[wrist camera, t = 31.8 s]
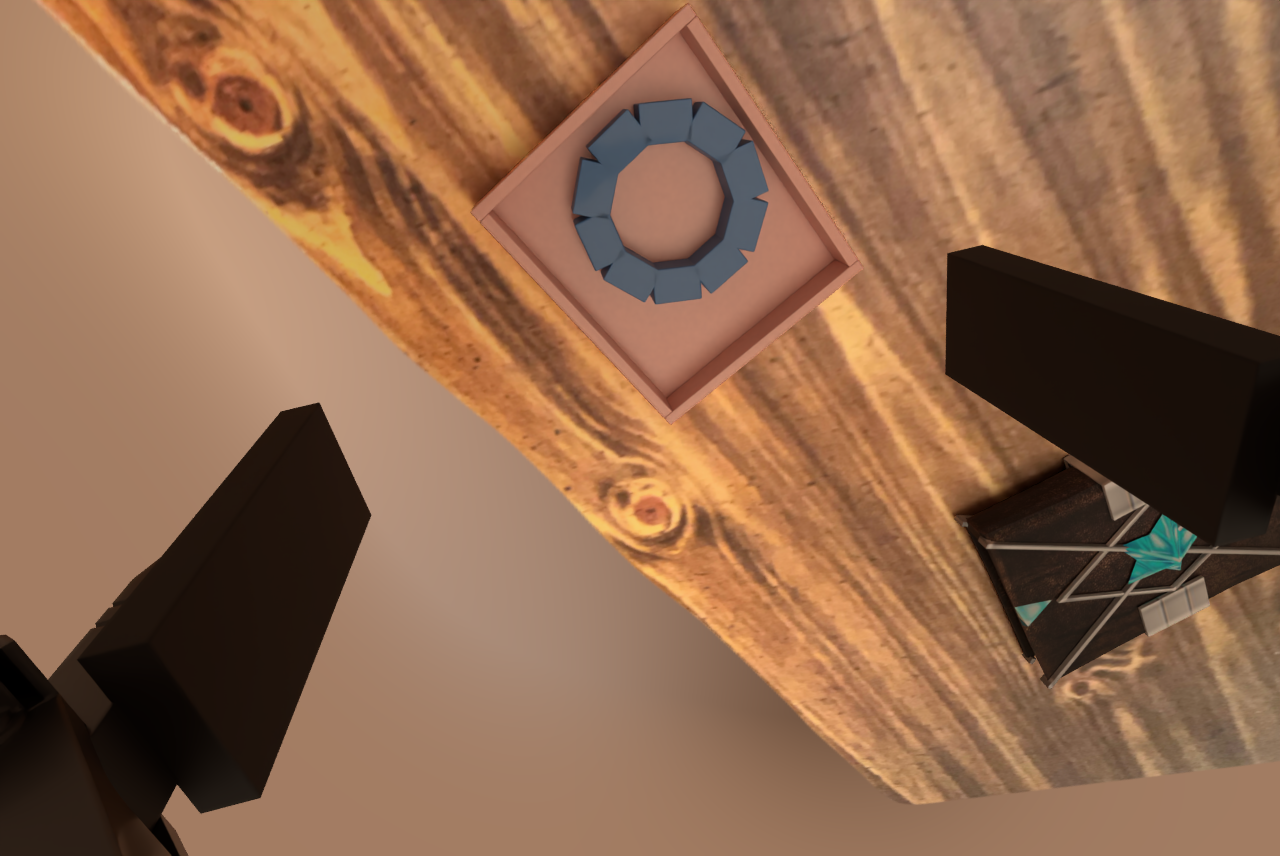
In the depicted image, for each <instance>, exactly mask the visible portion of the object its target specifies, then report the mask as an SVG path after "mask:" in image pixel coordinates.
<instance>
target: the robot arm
mask: <svg viewBox="0 0 1280 856" xmlns="http://www.w3.org/2000/svg"><path fill="white" fill-rule="evenodd" d="M945 374H946V375H948V376H949V377H951V378H952V379H954V380H955V381H957V382H958V383H960V384H961V385H963V386H965V387H966V388H968V389H969V390H971V391H972V392H974V393H975V394H977V395H979V396H980V397H982V398H983V399H985V400H986V401H988V402H989V403H991V404H992V405H994V406H996V407H997V408H999V409H1000V410H1002V411H1003V412H1005V413H1006V414H1008V415H1010V416H1011V417H1013V418H1014V419H1016V420H1017V421H1019V422H1020V423H1022V424H1023V425H1025V426H1027V427H1028V428H1030V429H1031V430H1033V431H1034V432H1036V433H1037V434H1039V435H1041V436H1042V437H1044V438H1045V439H1047V440H1048V441H1050V442H1051V443H1053V444H1054V445H1056V446H1058V447H1059V448H1061V449H1062V450H1064V451H1065V452H1067V453H1068V454H1070V455H1071V456H1073V457H1075V458H1076V459H1078V460H1079V461H1081V462H1082V463H1084V464H1085V465H1087V466H1089V467H1090V468H1092V469H1093V470H1095V471H1096V472H1098V473H1099V474H1101V475H1102V476H1104V477H1106V478H1107V479H1109V480H1110V481H1112V482H1113V483H1115V484H1116V485H1118V486H1120V487H1121V488H1123V489H1124V490H1126V491H1127V492H1129V493H1130V494H1132V495H1133V496H1135V497H1137V498H1138V499H1140V500H1141V501H1143V502H1144V503H1146V504H1147V505H1149V506H1151V507H1152V508H1154V509H1155V510H1157V511H1158V512H1160V513H1161V514H1163V515H1164V516H1166V517H1168V518H1169V519H1171V520H1172V521H1174V522H1175V523H1177V524H1178V525H1180V526H1182V527H1183V528H1185V529H1186V530H1188V531H1189V532H1191V533H1192V534H1194V535H1195V536H1197V537H1199V538H1200V539H1202V540H1203V541H1205V542H1206V543H1208V544H1209V545H1211V546H1213V547H1218V546H1222V545H1225V544H1229V543H1233V542H1237V541H1241V540H1245V539H1248V538H1252V537H1256V536H1260V535H1264V534H1266V532H1267V529H1268V525H1269V522H1270V518H1271V515H1272V512H1273V508H1274V505H1275V501H1276V498H1277V495H1279V496H1280V336H1278V335H1275V334H1271V333H1268V332H1265V331H1262V330H1258V329H1255V328H1252V327H1249V326H1245V325H1242V324H1239V323H1236V322H1232V321H1229V320H1226V319H1222V318H1219V317H1216V316H1213V315H1209V314H1206V313H1203V312H1200V311H1196V310H1193V309H1190V308H1187V307H1183V306H1180V305H1177V304H1173V303H1170V302H1167V301H1164V300H1160V299H1157V298H1154V297H1151V296H1147V295H1144V294H1141V293H1138V292H1134V291H1131V290H1128V289H1124V288H1121V287H1118V286H1115V285H1111V284H1108V283H1105V282H1102V281H1098V280H1095V279H1092V278H1088V277H1085V276H1082V275H1079V274H1075V273H1072V272H1069V271H1066V270H1062V269H1059V268H1056V267H1053V266H1049V265H1046V264H1043V263H1039V262H1036V261H1033V260H1030V259H1026V258H1023V257H1020V256H1017V255H1013V254H1010V253H1007V252H1004V251H1000V250H997V249H994V248H990V247H987V246H984V245H981V246H976V247H972V248H968V249H964V250H960V251H955V252H951V253H947V312H946V372H945ZM370 517H371V513H370V511H369V509H368V507H367V505H366V503H365V500H364V498H363V496H362V494H361V492H360V490H359V487H358V485H357V483H356V481H355V479H354V477H353V475H352V472H351V470H350V468H349V466H348V464H347V461H346V459H345V457H344V455H343V453H342V451H341V448H340V447H339V444H338V442H337V440H336V438H335V435H334V433H333V431H332V429H331V427H330V425H329V422H328V420H327V418H326V416H325V414H324V412H323V409H322V407H321V405H320V403H315V404H311V405H306V406H302V407H298V408H294V409H290V410H285V411H282V412H280V413H279V415H278V416H277V417H276V418H275V419H274V421H273V422H272V423H271V424H270V425H269V427H268V428H267V429H266V430H265V432H264V433H263V434H262V435H261V437H260V438H259V439H258V440H257V441H256V442H255V444H254V445H253V446H252V447H251V449H250V450H249V451H248V452H247V453H246V455H245V456H244V457H243V458H242V459H241V461H240V462H239V463H238V464H237V466H236V467H235V468H234V469H233V471H232V472H231V473H230V474H229V475H228V477H227V478H226V479H225V480H224V481H223V483H222V484H221V485H220V486H219V487H218V489H217V490H216V491H215V492H214V493H213V495H212V496H211V497H210V498H209V500H208V501H207V502H206V503H205V504H204V506H203V507H202V508H201V509H200V511H199V512H198V513H197V514H196V515H195V517H194V518H193V519H192V520H191V522H190V523H189V524H188V525H187V526H186V527H185V529H184V530H183V531H182V533H181V534H180V535H179V536H178V537H177V538H176V540H175V541H174V542H173V543H172V545H171V546H170V547H169V548H168V549H167V551H166V552H165V553H164V554H163V555H162V557H161V558H159V559H158V560H157V561H156V562H154V563H153V564H152V565H150V566H149V567H148V568H147V569H145V570H144V571H143V572H141V573H140V574H139V575H138V576H136V577H135V578H134V579H133V580H132V581H131V582H130V583H129V584H128V586H127V587H126V588H125V589H124V590H123V592H122V593H121V594H120V595H119V596H118V597H117V599H116V600H115V601H114V602H113V607H111V608H108V609H107V611H106V612H105V613H104V614H103V615H102V616H101V618H100V619H99V620H98V621H97V622H96V623H95V624H96V628H93V629H90V631H89V632H88V633H87V634H86V635H85V637H84V638H83V639H82V640H81V641H80V642H79V644H78V645H77V646H76V647H75V648H74V650H73V651H72V652H71V653H70V654H69V656H68V657H67V658H66V659H65V660H64V661H63V663H62V664H61V665H60V666H59V667H58V668H57V670H56V671H55V672H54V673H53V674H52V676H51V677H50V678H49V679H48V680H47V678H46V677H45V676H44V675H43V674H42V673H41V671H40V670H39V669H38V668H37V667H36V666H35V664H34V663H33V662H32V661H31V660H30V659H29V657H28V656H27V655H26V654H25V652H24V651H23V650H22V649H21V648H20V647H19V645H18V644H17V643H16V642H15V641H14V640H13V639H11V638H10V637H8V636H7V635H0V856H188V854H187V852H186V850H185V848H184V846H183V844H182V842H181V840H180V838H179V836H178V834H177V832H176V830H175V829H174V828H173V827H172V826H171V824H170V823H169V822H168V821H167V820H166V819H165V817H164V816H163V815H162V812H163V810H164V808H165V806H166V804H167V802H168V800H169V798H170V797H171V795H172V792H173V791H174V789H175V787H176V785H178V786H179V787H180V788H181V790H182V791H183V792H184V793H185V795H186V796H187V797H188V798H189V800H190V801H191V802H192V803H193V804H194V806H195V807H196V808H197V810H198V811H199V812H200V813H204V812H209V811H212V810H216V809H220V808H223V807H227V806H231V805H235V804H239V803H243V802H246V801H250V800H254V799H258V798H260V797H261V795H262V792H263V790H264V787H265V785H266V782H267V780H268V777H269V775H270V772H271V769H272V767H273V764H274V762H275V759H276V757H277V754H278V752H279V749H280V747H281V744H282V741H283V739H284V736H285V734H286V731H287V729H288V726H289V723H290V721H291V719H292V716H293V713H294V711H295V708H296V706H297V703H298V701H299V698H300V696H301V693H302V691H303V688H304V685H305V683H306V680H307V678H308V675H309V673H310V670H311V667H312V665H313V662H314V660H315V657H316V655H317V652H318V650H319V647H320V645H321V642H322V640H323V637H324V634H325V632H326V629H327V627H328V624H329V622H330V619H331V616H332V614H333V611H334V609H335V606H336V603H337V601H338V599H339V596H340V594H341V591H342V588H343V586H344V584H345V581H346V578H347V576H348V573H349V570H350V568H351V566H352V563H353V561H354V558H355V555H356V553H357V550H358V548H359V545H360V543H361V540H362V538H363V535H364V533H365V530H366V527H367V525H368V522H369V520H370Z"/></svg>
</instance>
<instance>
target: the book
mask: <svg viewBox="0 0 1280 856" xmlns="http://www.w3.org/2000/svg"><path fill="white" fill-rule="evenodd" d="M1063 459H1064V462H1065V466H1066V470H1064V471H1062V472H1060V473H1058V474H1056V475H1054V476H1052V477H1051V478H1049V479H1047V480H1045V481H1043V482H1041V483H1039V484H1037V485H1035V486H1033V487H1031V488H1029V489H1027V490H1025V491H1023V492H1020V493H1018V494H1016V495H1014V496H1012V497H1010V498H1008V499H1006V500H1004V501H1002V502H1000V503H998V504H996V505H994V506H992V507H990V508H988V509H986V510H984V511H982V512H980V513H977V514H975V515H956V517H955V520H956V521H957V522H958V523H959V524H960V525H961V526H962V527H966V528H967V530H968V532H969V534H970V536H971V538H972V540H973V542H974V544H975V546H976V548H977V550H978V552H979V554H980V557H981V559H982V561H983V563H984V565H985V567H986V569H987V571H988V573H989V576H990V578H991V580H992V582H993V585H994V587H995V589H996V591H997V593H998V596H999V598H1000V600H1001V602H1002V605H1003V607H1004V609H1005V611H1006V613H1007V616H1008V618H1009V620H1010V622H1011V625H1012V627H1013V629H1014V631H1015V634H1016V636H1017V638H1018V641H1019V643H1020V645H1021V648H1022V650H1023V652H1024V653H1023V654H1022V656H1023V657H1024V658H1025V659H1026V660H1027V661H1028V662H1029V663H1031V664H1033V663H1034V662H1035V660H1036V658H1035V657H1034V656H1035V655H1036V657H1037V659H1038V662H1039V664H1040V666H1041V668H1042V670H1043V672H1044V675H1043V676H1042V677H1041V678H1040V680H1041V681H1042V682H1043V683H1044V684H1045V685H1046V686H1047V688H1050V689H1052V687H1053V686H1054V685H1055V684H1056V683H1057V681H1058V680H1059V679H1060V678H1061V677H1063V676H1065V675H1067V674H1068V673H1070V672H1072V671H1074V670H1076V669H1078V668H1079V667H1081V666H1083V665H1085V664H1087V663H1089V662H1090V661H1092V660H1094V659H1096V658H1098V657H1100V656H1101V655H1103V654H1105V653H1107V652H1109V651H1111V650H1113V649H1114V648H1116V647H1118V646H1120V645H1122V644H1124V643H1126V642H1128V641H1129V640H1131V639H1133V638H1135V637H1137V636H1139V635H1141V634H1143V633H1145V634H1146V635H1147V636H1148V637H1150V636H1151V635H1153V634H1155V633H1157V632H1159V631H1161V630H1163V629H1165V628H1167V627H1169V626H1171V625H1173V624H1175V623H1177V622H1179V621H1181V620H1183V619H1185V618H1187V617H1189V616H1191V615H1193V614H1195V613H1197V612H1199V611H1201V610H1203V609H1205V608H1207V607H1209V606H1210V603H1209V598H1211V597H1213V596H1215V595H1217V594H1219V593H1221V592H1223V591H1225V590H1226V589H1228V588H1230V587H1232V586H1234V585H1236V584H1238V583H1241V582H1243V581H1245V580H1247V579H1249V578H1252V577H1254V576H1256V575H1258V574H1261V573H1263V572H1265V571H1267V570H1270V569H1272V568H1274V567H1276V566H1279V565H1280V496H1279V495H1277V498H1276V501H1275V505H1274V508H1273V512H1272V515H1271V518H1270V522H1269V525H1268V529H1267V532H1266V534H1264V535H1260V536H1256V537H1252V538H1248V539H1245V540H1241V541H1237V542H1233V543H1229V544H1225V545H1222V546H1218V547H1213V546H1211V545H1209V544H1208V543H1206V542H1205V541H1203V540H1202V539H1200V538H1199V537H1197V536H1195V535H1194V534H1192V533H1191V532H1189V531H1188V530H1186V529H1185V528H1183V527H1182V526H1180V525H1178V524H1177V523H1175V522H1174V521H1172V520H1171V519H1169V518H1168V517H1166V516H1164V515H1163V514H1161V513H1160V512H1158V511H1157V510H1155V509H1154V508H1152V507H1151V506H1149V505H1147V504H1146V503H1144V502H1143V501H1141V500H1140V499H1138V498H1137V497H1135V496H1133V495H1132V494H1130V493H1129V492H1127V491H1126V490H1124V489H1123V488H1121V487H1120V486H1118V485H1116V484H1115V483H1113V482H1112V481H1110V480H1109V479H1107V478H1106V477H1104V476H1102V475H1101V474H1099V473H1098V472H1096V471H1095V470H1093V469H1092V468H1090V467H1089V466H1087V465H1085V464H1084V463H1082V462H1081V461H1079V460H1078V459H1076V458H1075V457H1073V456H1071V455H1069V456H1067V457H1065V458H1063Z"/></svg>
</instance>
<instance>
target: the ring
mask: <svg viewBox="0 0 1280 856" xmlns="http://www.w3.org/2000/svg"><path fill="white" fill-rule="evenodd" d="M744 134H745V130H744V129H742V128H741V127H740V126H738V125H737V124H735V123H734V122H732V121H731V120H729V119H728V118H727V117H725V116H724V115H722V114H721V113H719V112H718V111H717V110H715V109H714V108H712V107H711V106H709V105H708V104H706V103H705V102H695V103H694V104H693V106H692V99H691V98H686V99H675V100H665V101H656V102H646V103H636V104H634V116H633V115H632V114H631V112H630V111H629V110H628V109H622V110H621V111H620V112H619V113H618V114H617V115H616V116H615V117H614V118H613V119H612V120H611V121H610V122H609V123H608V124H607V125H606V126H605V127H604V128H603V129H602V130H601V131H600V132H599V133H598V134H597V135H596V136H595V137H594V138H593V139H592V140H591V141H590V142H589V143H588V144H587V145H586V148H587V149H588V150H589V151H590V153H591V154H592V155H593V156H594V157H595V158H596V160H593V159H589V158H585V157H580V159H579V165H578V171H577V177H576V182H575V188H574V194H573V200H572V206H571V209H572V212H573V214H577V215H581V216H579V217H577V218H575V219H574V220H573V222H574V226H575V228H576V230H577V233H578V235H579V237H580V239H581V241H582V243H583V246H584V248H585V250H586V252H587V254H588V256H589V259H590V261H591V263H592V265H593V267H594V269H595V271H598V270H600V269H602V270H601V274H602V277H603V280H605V281H606V282H608V283H610V284H612V285H614V286H615V287H617V288H619V289H621V290H623V291H624V292H626V293H628V294H630V295H632V296H633V297H635V298H637V299H639V300H641V301H642V302H646V300H647V298H648V297H649V295H650V296H651V298H652V300H653V301H654V303H655V304H664V303H671V302H679V301H687V300H695V299H701V298H702V290H701V284H702V285H703V286H704V287H705V288H706V289H707V290H708V291H709V292H710V293H711V294H712V293H713V292H714V291H716V290H717V289H718V288H719V287H720V286H721V285H722V284H724V283H725V282H726V281H727V280H728V279H729V278H730V277H731V276H733V275H734V274H735V273H736V272H737V271H738V270H739V269H740V268H742V267H743V266H744V265H745V264H746V263H747V262H748V260H747V259H746V258H745V256H744V255H743V254H742V253H741V251H740V250H739V249H741V250H746V251H751V252H754V251H755V248H756V245H757V241H758V238H759V234H760V231H761V227H762V224H763V220H764V217H765V213H766V210H767V206H768V202H767V201H764V200H762V199H759V198H757V196H759V195H761V194H763V193H765V192H768V191H769V190H768V187H767V183H766V180H765V177H764V174H763V171H762V168H761V164H760V161H759V158H758V155H757V152H756V149H755V145H754V142H753V141H752V140H745V139H742V137H743V136H744ZM676 142H685V143H686V144H688V145H690V146H691V147H693V148H694V149H696V150H697V151H699V152H700V153H702V154H703V155H705V156H706V157H708V158H709V159H711V160H712V162H713V165H714V167H715V170H716V173H717V176H718V179H719V182H720V185H721V188H722V190H723V193H724V196H725V198H724V202H723V205H722V209H721V213H720V217H719V221H718V225H717V228H716V232H715V234H714V235H713V236H712V237H711V238H710V239H709V240H708V241H706V242H705V243H704V244H703V245H702V246H701V247H700V248H699V249H698V250H697V251H695V252H694V253H693V254H692V255H691V256H690V257H689V258H687V259H678V260H670V261H662V262H654V263H653V262H651V261H649V260H648V259H646V258H644V257H642V256H641V255H639V254H637V253H636V252H634V251H632V250H630V249H629V248H627V247H625V246H624V245H623V243H622V241H621V239H620V236H619V234H618V232H617V229H616V227H615V225H614V222H613V220H612V218H611V216H610V214H611V209H612V203H613V198H614V193H615V188H616V183H617V178H618V174H619V173H620V172H621V171H622V170H623V169H624V168H625V167H626V166H627V165H628V164H629V163H631V162H632V161H633V160H634V159H635V158H636V157H637V156H638V155H639V154H640V153H641V152H642V151H643V150H644V149H645V148H646V147H647V146H649V145H658V144H667V143H676Z"/></svg>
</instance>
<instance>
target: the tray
mask: <svg viewBox="0 0 1280 856" xmlns="http://www.w3.org/2000/svg"><path fill="white" fill-rule="evenodd" d="M686 98H691V99H692V106H693V104H694V103H695V102H705V103H706V104H708V105H709V106H711V107H712V108H714V109H715V110H717V111H718V112H719V113H721V114H722V115H724V116H725V117H727V118H728V119H729V120H731V121H732V122H734V123H735V124H737V125H738V126H740V127H741V128H742V129H744V130H745V134H744V136H743V137H742V139H745V140H752V141H753V142H754V145H755V149H756V152H757V155H758V158H759V161H760V164H761V168H762V171H763V174H764V177H765V180H766V183H767V187H768V190H769V191H768V192H765V193H763V194H761V195H759V196H757V198H759V199H762V200H764V201H767V202H768V206H767V210H766V213H765V217H764V220H763V224H762V227H761V231H760V234H759V238H758V241H757V245H756V248H755V251H754V252H751V251H746V250H741V249H739V250H740V251H741V253H742V254H743V255H744V256H745V258H746V259H747V260H748V262H747V263H746V264H745V265H744V266H743V267H742V268H740V269H739V270H738V271H737V272H736V273H735V274H734V275H733V276H731V277H730V278H729V279H728V280H727V281H726V282H725V283H724V284H722V285H721V286H720V287H719V288H718V289H717V290H716V291H714V292H713V293H712V294H711V293H710V292H709V291H708V290H707V289H706V288H705V287H704V286H703V285H702V284H701V290H702V298H701V299H695V300H687V301H679V302H671V303H664V304H655V303H654V301H653V300H652V298H651V296H650V295H649V297H648V298H647V300H646V302H642V301H641V300H639V299H637V298H635V297H633V296H632V295H630V294H628V293H626V292H624V291H623V290H621V289H619V288H617V287H615V286H614V285H612V284H610V283H608V282H606V281H605V280H603V277H602V274H601V270H602V269H600V270H598V271H595V269H594V267H593V265H592V263H591V261H590V259H589V256H588V254H587V252H586V250H585V248H584V246H583V243H582V241H581V239H580V237H579V235H578V233H577V230H576V228H575V226H574V222H573V220H574V219H575V218H577V217H579V216H581V215H577V214H573V212H572V209H571V206H572V200H573V194H574V188H575V182H576V177H577V171H578V165H579V159H580V157H585V158H589V159H593V160H596V158H595V157H594V156H593V155H592V154H591V153H590V151H589V150H588V149H587V148H586V145H587V144H588V143H589V142H590V141H591V140H592V139H593V138H594V137H595V136H596V135H597V134H598V133H599V132H600V131H601V130H602V129H603V128H604V127H605V126H606V125H607V124H608V123H609V122H610V121H611V120H612V119H613V118H614V117H615V116H616V115H617V114H618V113H619V112H620V111H621V110H622V109H628V110H629V111H630V112H631V114H632V115H633V116H634V104H636V103H646V102H656V101H665V100H675V99H686ZM724 198H725V196H724V193H723V190H722V188H721V185H720V182H719V179H718V176H717V173H716V170H715V167H714V165H713V162H712V160H711V159H709V158H708V157H706V156H705V155H703V154H702V153H700V152H699V151H697V150H696V149H694V148H693V147H691V146H690V145H688V144H686V143H685V142H676V143H667V144H658V145H649V146H647V147H646V148H645V149H644V150H643V151H642V152H641V153H640V154H639V155H638V156H637V157H636V158H635V159H634V160H633V161H632V162H631V163H629V164H628V165H627V166H626V167H625V168H624V169H623V170H622V171H621V172H620V173H619V174H618V178H617V183H616V188H615V193H614V198H613V203H612V209H611V214H610V216H611V218H612V220H613V222H614V225H615V227H616V229H617V232H618V234H619V236H620V239H621V241H622V243H623V245H624V246H625V247H627V248H629V249H630V250H632V251H634V252H636V253H637V254H639V255H641V256H642V257H644V258H646V259H648V260H649V261H651V262H653V263H654V262H662V261H670V260H678V259H687V258H689V257H690V256H691V255H692V254H693V253H694V252H695V251H697V250H698V249H699V248H700V247H701V246H702V245H703V244H704V243H705V242H706V241H708V240H709V239H710V238H711V237H712V236H713V235H714V234H715V232H716V228H717V225H718V221H719V217H720V213H721V209H722V205H723V202H724ZM471 214H472V215H473V216H474V217H475V218H476V219H477V220H478V221H480V223H481V224H482V225H483V226H484V227H485V228H486V229H487V231H488V232H489V233H490V234H491V235H492V236H493V237H494V238H495V239H496V240H497V241H498V242H499V243H500V244H501V245H502V246H503V247H504V249H505V250H506V251H507V252H508V253H509V254H510V255H511V256H512V257H513V258H514V259H515V260H516V261H517V262H518V263H519V264H520V266H521V267H522V268H523V269H524V270H525V271H526V272H527V273H528V274H529V275H530V276H531V277H532V278H533V279H534V280H535V281H536V283H537V284H538V285H539V286H540V287H541V288H542V289H543V290H544V291H545V292H546V293H547V294H548V295H549V296H550V297H551V298H552V300H553V301H554V302H555V303H556V304H557V305H558V306H559V307H560V308H561V309H562V310H563V311H564V312H565V313H566V314H567V315H568V317H569V318H570V319H571V320H572V321H573V322H574V323H575V324H576V325H577V326H578V327H579V328H580V329H581V330H582V331H583V332H584V333H585V335H586V336H587V337H588V338H589V339H590V340H591V341H592V342H593V343H594V344H595V345H596V346H597V347H598V348H599V349H600V350H601V352H602V353H603V354H604V355H605V356H606V357H607V358H608V359H609V360H610V361H611V362H612V363H613V364H614V365H615V366H616V367H617V369H618V370H619V371H620V372H621V373H622V374H623V375H624V376H625V377H626V378H627V379H628V380H629V381H630V382H631V383H632V384H633V386H634V387H635V388H636V389H637V390H638V391H639V392H640V393H641V394H642V395H643V396H644V397H645V398H646V399H647V400H648V401H649V402H650V404H651V405H652V406H653V407H654V408H655V409H656V410H657V411H658V412H659V413H660V414H661V415H662V416H663V417H664V418H665V419H666V421H667V422H668V423H669V424H673V423H674V422H675V421H676V420H678V419H679V418H680V417H681V416H682V415H684V414H685V413H686V412H687V411H689V410H690V409H691V408H692V407H694V406H695V405H696V404H697V403H698V402H700V401H701V400H702V399H703V398H705V397H706V396H707V395H708V394H710V393H711V392H712V391H713V390H714V389H716V388H717V387H718V386H719V385H721V384H722V383H723V382H724V381H726V380H727V379H728V378H729V377H730V376H732V375H733V374H734V373H735V372H737V371H738V370H739V369H740V368H742V367H743V366H744V365H745V364H746V363H748V362H749V361H750V360H751V359H753V358H754V357H755V356H756V355H758V354H759V353H760V352H761V351H762V350H764V349H765V348H766V347H767V346H769V345H770V344H771V343H772V342H774V341H775V340H776V339H777V338H778V337H780V336H781V335H782V334H783V333H785V332H786V331H787V330H788V329H790V328H791V327H792V326H793V325H794V324H796V323H797V322H798V321H799V320H801V319H802V318H803V317H804V316H806V315H807V314H808V313H809V312H810V311H812V310H813V309H814V308H815V307H817V306H818V305H819V304H820V303H822V302H823V301H824V300H825V299H826V298H828V297H829V296H830V295H831V294H833V293H834V292H835V291H836V290H838V289H839V288H840V287H841V286H842V285H844V284H845V283H846V282H847V281H849V280H850V279H851V278H852V277H854V276H855V275H856V274H857V273H858V272H860V271H861V270H862V269H863V266H862V264H861V263H860V261H859V260H858V258H857V256H856V255H855V253H854V252H853V250H852V249H851V247H850V246H849V244H848V243H847V241H846V240H845V238H844V237H843V235H842V234H841V232H840V231H839V229H838V228H837V226H836V225H835V223H834V222H833V220H832V219H831V217H830V216H829V214H828V213H827V211H826V210H825V208H824V207H823V205H822V204H821V202H820V201H819V199H818V198H817V196H816V195H815V193H814V192H813V190H812V189H811V187H810V186H809V184H808V182H807V181H806V179H805V178H804V176H803V175H802V173H801V172H800V170H799V169H798V167H797V166H796V164H795V163H794V161H793V160H792V158H791V157H790V155H789V154H788V152H787V151H786V149H785V148H784V146H783V145H782V143H781V142H780V140H779V139H778V137H777V136H776V134H775V133H774V131H773V130H772V128H771V127H770V125H769V124H768V122H767V121H766V119H765V118H764V116H763V115H762V113H761V112H760V110H759V109H758V107H757V106H756V104H755V102H754V101H753V99H752V98H751V96H750V95H749V93H748V92H747V90H746V89H745V87H744V86H743V84H742V83H741V81H740V80H739V78H738V77H737V75H736V74H735V72H734V71H733V69H732V68H731V66H730V65H729V63H728V62H727V60H726V59H725V57H724V56H723V54H722V53H721V51H720V50H719V48H718V47H717V45H716V44H715V42H714V41H713V39H712V38H711V36H710V35H709V33H708V32H707V30H706V29H705V27H704V26H703V24H702V22H701V21H700V19H699V18H698V16H696V13H695V12H694V10H693V9H692V7H691V6H690V4H689V3H687V4H686V5H684V6H683V7H682V8H680V9H679V10H677V11H676V12H675V13H674V14H673V15H672V16H671V17H670V18H669V19H668V20H667V21H666V22H665V23H664V24H663V25H662V26H661V27H660V28H659V29H658V30H657V31H655V32H654V33H653V34H652V35H651V36H650V37H649V38H648V39H647V40H646V41H645V42H644V43H643V44H642V45H641V46H640V47H639V48H638V49H637V50H636V51H635V52H634V53H633V54H632V55H630V56H629V57H628V58H627V59H626V60H625V61H624V62H623V63H622V64H621V65H620V66H619V67H618V68H617V69H616V70H615V71H614V72H613V73H612V74H611V75H610V76H609V77H608V78H607V79H606V80H604V81H603V82H602V83H601V84H600V85H599V86H598V87H597V88H596V89H595V90H594V91H593V92H592V93H591V94H590V95H589V96H588V97H587V98H586V99H585V100H584V101H583V102H582V103H581V104H579V105H578V106H577V107H576V108H575V109H574V110H573V111H572V112H571V113H570V114H569V115H568V116H567V117H566V118H565V119H564V120H563V121H562V122H561V123H560V124H559V125H558V126H557V127H556V128H554V129H553V130H552V131H551V132H550V133H549V134H548V135H547V136H546V137H545V138H544V139H543V140H542V141H541V142H540V143H539V144H538V145H537V146H536V147H535V148H534V149H533V150H532V151H531V152H530V153H528V154H527V155H526V156H525V157H524V158H523V159H522V160H521V161H520V162H519V163H518V164H517V165H516V166H515V167H514V168H513V169H512V170H511V171H510V172H509V173H508V174H507V175H506V176H505V177H503V178H502V179H501V180H500V181H499V182H498V183H497V184H496V185H495V186H494V187H493V188H492V189H491V190H490V191H489V192H488V193H487V194H486V195H485V196H484V197H483V198H482V199H481V200H480V201H479V202H477V203H476V204H475V206H474V207H473V209H472V210H471Z"/></svg>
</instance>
